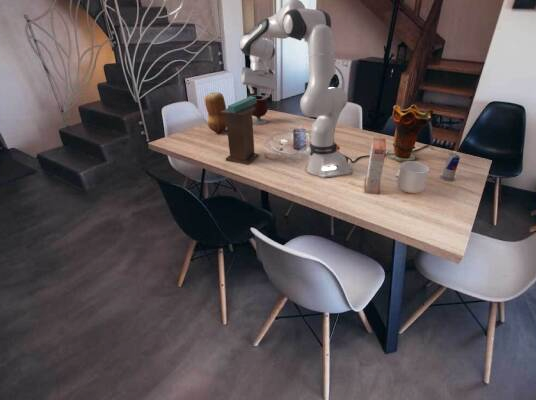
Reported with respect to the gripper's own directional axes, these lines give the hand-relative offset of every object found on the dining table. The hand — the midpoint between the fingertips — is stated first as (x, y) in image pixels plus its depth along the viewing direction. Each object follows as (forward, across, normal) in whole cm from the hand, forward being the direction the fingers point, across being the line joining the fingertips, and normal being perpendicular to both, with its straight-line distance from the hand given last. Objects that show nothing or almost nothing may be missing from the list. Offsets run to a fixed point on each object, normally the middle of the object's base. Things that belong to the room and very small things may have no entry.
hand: (260, 95), depth 168 cm
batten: (+11, -13, -6) cm, 18 cm away
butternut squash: (+8, -7, +45) cm, 46 cm away
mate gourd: (-4, +24, +47) cm, 53 cm away
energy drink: (+55, +66, -63) cm, 107 cm away
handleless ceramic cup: (+60, +42, -58) cm, 94 cm away
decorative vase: (+38, +67, -38) cm, 86 cm away
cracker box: (+57, +29, -48) cm, 80 cm away
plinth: (+34, -9, +6) cm, 36 cm away
